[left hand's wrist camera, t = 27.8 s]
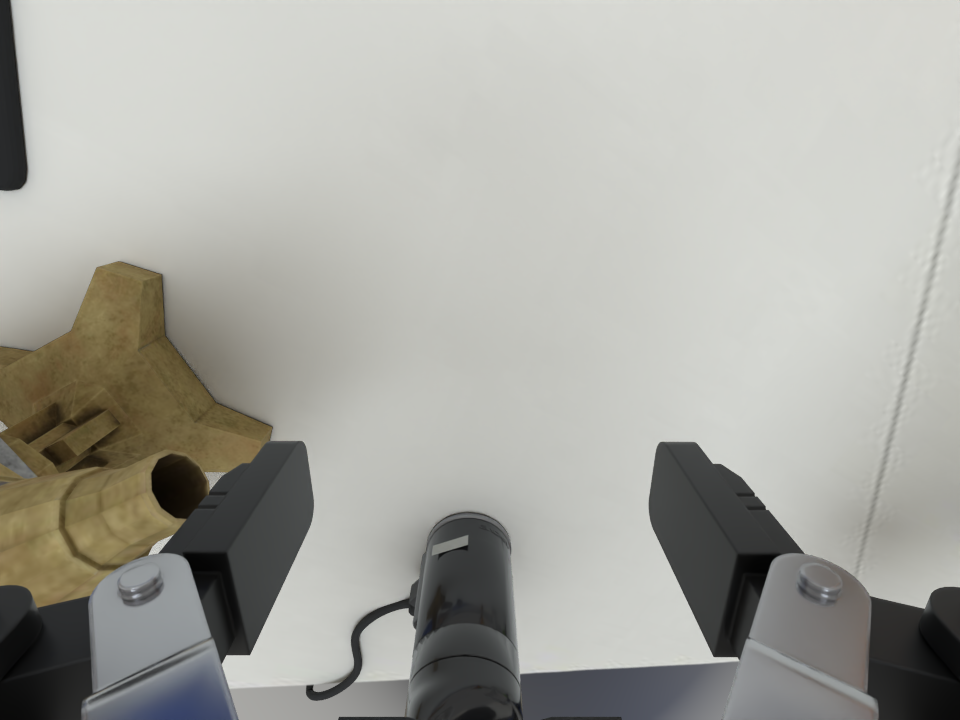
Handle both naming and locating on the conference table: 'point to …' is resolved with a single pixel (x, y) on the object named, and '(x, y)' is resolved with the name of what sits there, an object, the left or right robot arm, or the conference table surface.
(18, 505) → the telescope
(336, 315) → the conference table surface
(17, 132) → the keyboard
